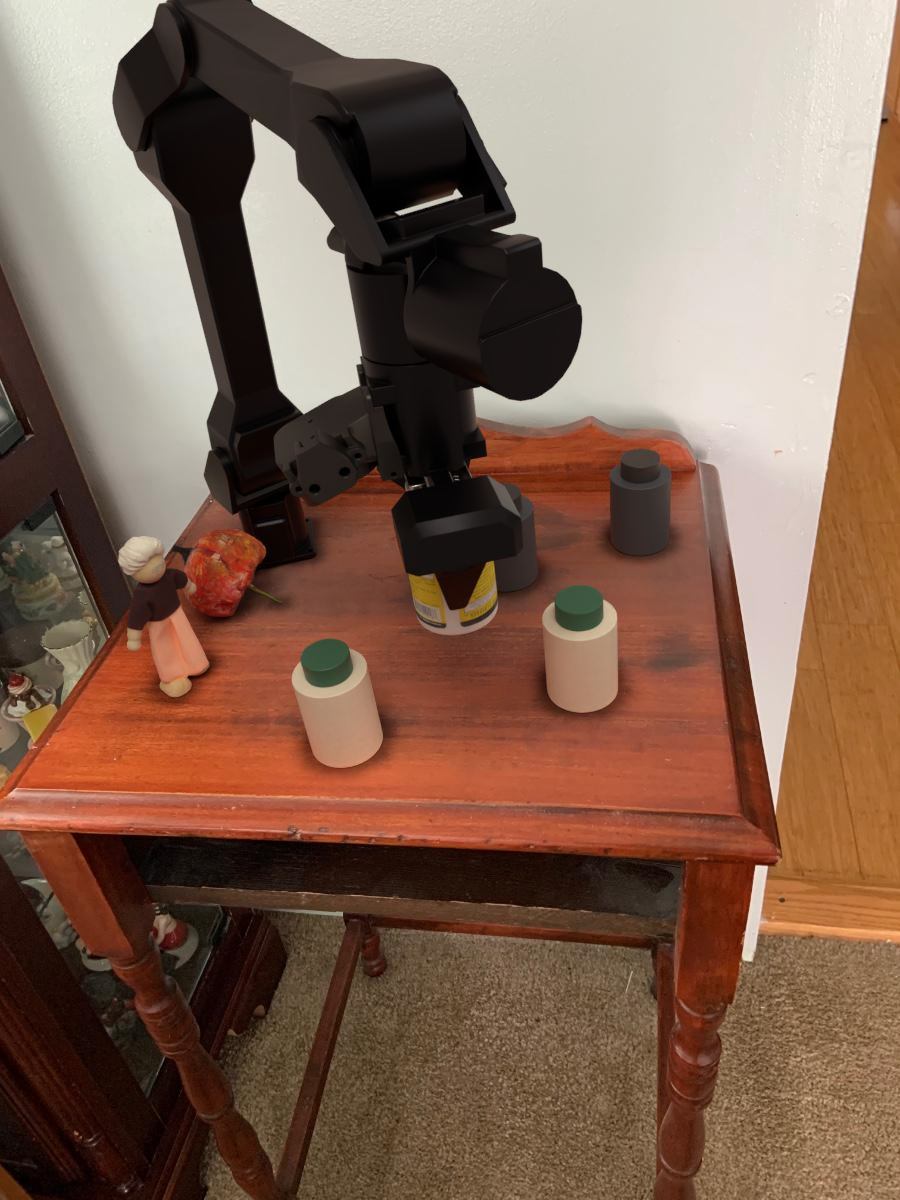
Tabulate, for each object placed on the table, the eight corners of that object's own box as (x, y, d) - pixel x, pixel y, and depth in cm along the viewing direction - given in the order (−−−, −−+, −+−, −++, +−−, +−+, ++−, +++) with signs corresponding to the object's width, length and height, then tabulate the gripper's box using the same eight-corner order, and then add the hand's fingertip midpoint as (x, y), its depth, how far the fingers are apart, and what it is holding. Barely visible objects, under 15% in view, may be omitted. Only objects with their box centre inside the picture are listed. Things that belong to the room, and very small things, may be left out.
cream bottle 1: (309, 725, 65) (284, 638, 60) (378, 709, 65) (358, 622, 61) (314, 775, 61) (288, 687, 56) (387, 758, 61) (367, 670, 57)
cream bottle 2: (538, 673, 66) (531, 585, 62) (604, 659, 67) (602, 570, 62) (558, 719, 62) (552, 629, 58) (628, 703, 63) (628, 612, 58)
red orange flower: (284, 596, 82) (186, 538, 80) (312, 551, 77) (208, 488, 75) (248, 655, 77) (143, 595, 75) (276, 611, 72) (164, 545, 70)
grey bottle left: (473, 564, 79) (463, 484, 74) (529, 553, 79) (523, 472, 74) (486, 597, 75) (477, 514, 70) (545, 584, 75) (539, 501, 70)
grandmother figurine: (190, 708, 68) (135, 569, 60) (144, 705, 69) (84, 568, 61) (230, 642, 74) (184, 509, 66) (187, 640, 75) (138, 508, 67)
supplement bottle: (501, 586, 61) (487, 455, 55) (496, 637, 56) (481, 501, 51) (421, 588, 62) (400, 460, 56) (410, 639, 57) (386, 506, 51)
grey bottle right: (602, 531, 81) (601, 450, 76) (656, 519, 81) (658, 438, 76) (622, 560, 77) (621, 477, 72) (678, 548, 77) (681, 465, 72)
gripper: (259, 315, 55) (312, 532, 64) (270, 450, 40) (337, 707, 49) (438, 283, 56) (465, 501, 65) (515, 403, 41) (535, 663, 50)
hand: (448, 581), depth 58 cm, fingers closed on supplement bottle, 5 cm apart
